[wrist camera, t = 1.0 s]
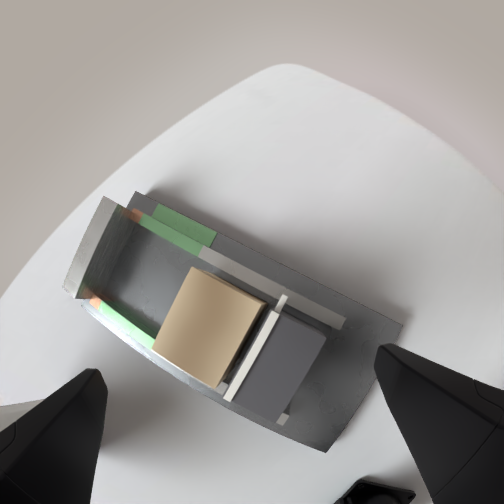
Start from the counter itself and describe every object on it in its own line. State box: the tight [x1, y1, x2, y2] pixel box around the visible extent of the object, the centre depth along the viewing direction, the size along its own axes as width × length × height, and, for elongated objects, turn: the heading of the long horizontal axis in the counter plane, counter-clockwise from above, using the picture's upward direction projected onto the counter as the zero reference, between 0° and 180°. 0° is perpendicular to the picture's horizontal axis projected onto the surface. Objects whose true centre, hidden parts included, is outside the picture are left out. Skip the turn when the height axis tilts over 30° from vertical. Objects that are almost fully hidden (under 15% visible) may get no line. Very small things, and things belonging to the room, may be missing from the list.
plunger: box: [222, 294, 327, 423], centre depth 15 cm, size 3×6×4 cm, turn 152°
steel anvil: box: [62, 196, 136, 299], centre depth 18 cm, size 2×7×3 cm, turn 152°
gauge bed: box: [81, 191, 403, 453], centre depth 18 cm, size 21×10×2 cm, turn 62°
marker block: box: [151, 267, 268, 389], centre depth 16 cm, size 4×5×4 cm
